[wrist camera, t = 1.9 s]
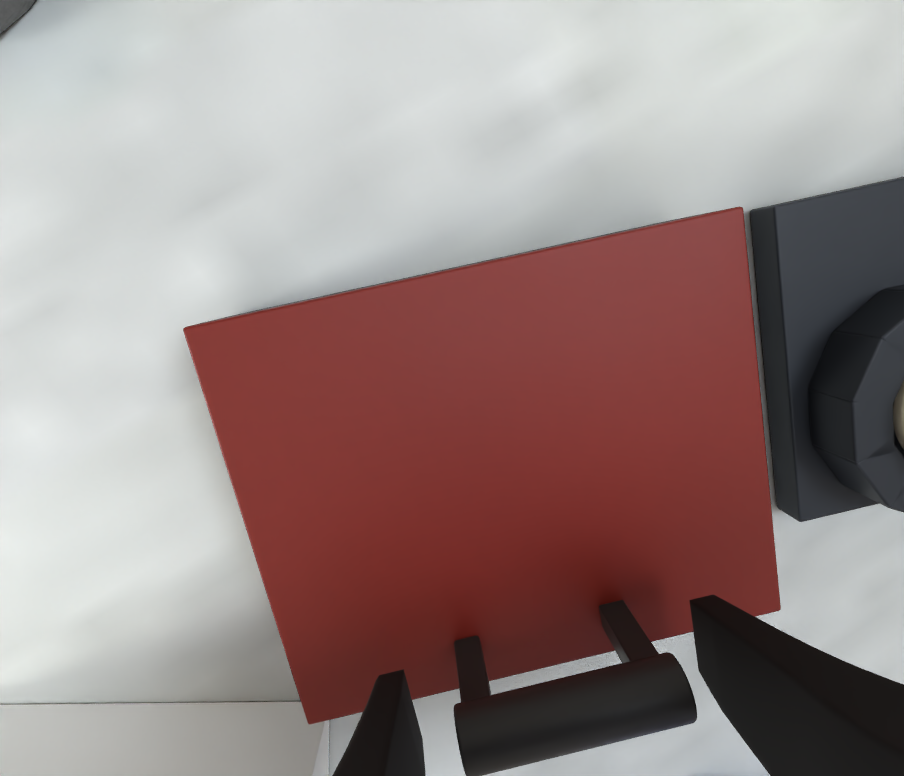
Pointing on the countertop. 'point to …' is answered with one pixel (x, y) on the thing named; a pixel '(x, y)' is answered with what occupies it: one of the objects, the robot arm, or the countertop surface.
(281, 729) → the milk
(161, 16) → the countertop surface
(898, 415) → the power button
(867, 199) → the block
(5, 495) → the countertop surface
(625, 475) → the grill lid
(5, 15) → the coffeepot
